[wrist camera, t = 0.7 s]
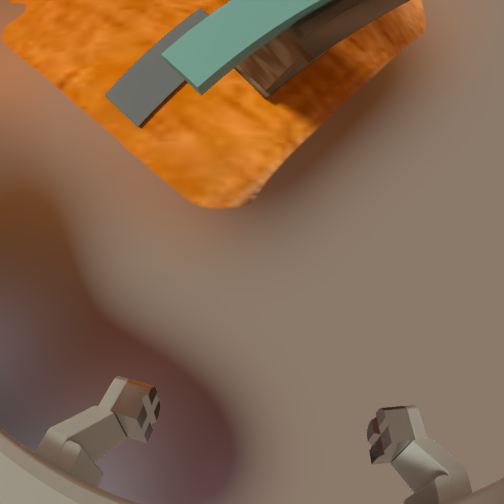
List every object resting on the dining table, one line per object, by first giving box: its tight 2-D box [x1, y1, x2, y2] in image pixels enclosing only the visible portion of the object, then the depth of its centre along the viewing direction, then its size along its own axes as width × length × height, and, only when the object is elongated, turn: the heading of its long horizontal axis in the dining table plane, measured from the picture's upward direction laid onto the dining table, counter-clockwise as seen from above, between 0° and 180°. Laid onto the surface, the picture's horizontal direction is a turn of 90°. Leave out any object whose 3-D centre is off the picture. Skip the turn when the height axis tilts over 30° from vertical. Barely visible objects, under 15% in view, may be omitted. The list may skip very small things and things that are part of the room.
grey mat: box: [105, 9, 209, 127], centre depth 38 cm, size 9×22×1 cm, turn 133°
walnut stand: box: [234, 0, 410, 99], centre depth 26 cm, size 10×14×28 cm
